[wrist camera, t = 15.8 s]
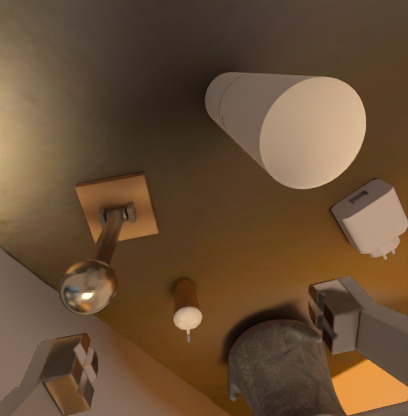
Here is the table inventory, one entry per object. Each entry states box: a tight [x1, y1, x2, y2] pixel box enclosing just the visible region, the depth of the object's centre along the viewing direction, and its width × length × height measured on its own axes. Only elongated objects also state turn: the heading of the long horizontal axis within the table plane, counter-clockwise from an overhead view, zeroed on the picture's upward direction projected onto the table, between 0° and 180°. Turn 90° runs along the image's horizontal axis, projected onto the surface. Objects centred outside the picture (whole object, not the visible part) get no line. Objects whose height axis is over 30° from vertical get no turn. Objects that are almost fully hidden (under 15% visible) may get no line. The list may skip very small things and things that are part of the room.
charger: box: [331, 179, 408, 259], centre depth 52 cm, size 5×9×15 cm
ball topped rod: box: [59, 208, 129, 315], centre depth 35 cm, size 21×5×5 cm
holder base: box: [75, 172, 158, 244], centre depth 44 cm, size 10×10×4 cm
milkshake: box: [174, 278, 202, 342], centre depth 50 cm, size 5×5×10 cm
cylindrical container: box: [205, 72, 366, 189], centre depth 30 cm, size 7×7×25 cm
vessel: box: [228, 319, 347, 416], centre depth 55 cm, size 22×22×20 cm
